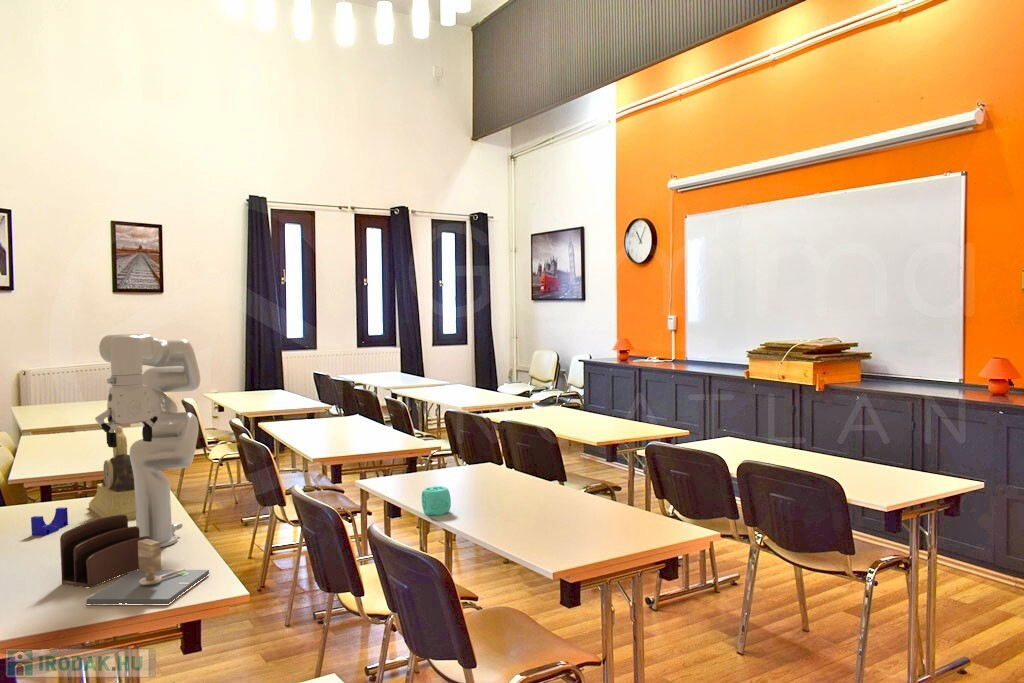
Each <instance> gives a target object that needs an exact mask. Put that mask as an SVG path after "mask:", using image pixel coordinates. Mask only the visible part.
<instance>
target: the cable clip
mask: <svg viewBox="0 0 1024 683" xmlns="http://www.w3.org/2000/svg"><path fill="white" fill-rule="evenodd" d="M54 513H55V514H54V516H53V519H52V520H51V522H50V523H49V524H46V522H45V519H44V516H43V515H34V516H31V517H30V523H31V525H30V526H31V529H30V530H31V536H33V537H34V536H35V537H45V536H48V535H50V534H53V533H56V532H58V531H60V529H62V528H64V527H67V526H69V517H68V516H69V515H68V507H56V508H55V512H54Z"/></svg>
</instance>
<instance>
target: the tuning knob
mask: <svg viewBox="0 0 1024 683" xmlns="http://www.w3.org/2000/svg"><path fill="white" fill-rule="evenodd" d="M161 550H162V549H161V548H160V542H157V541H154V540H150V539H144V540H140V541H138V560H139V569H138V570H143V571H146V577H145V578H142V579H141V580H139V584H140V585H153V584H156V583H159V582H161V581H162V578H165V577H169V576H172V575H175V574H178V573H181V572H184V571H185V570H186V568H181V569H176V570H177V571H174V572H171V573H167V574H164V575H161V576H155V572H158V571H161V570H162V552H161Z"/></svg>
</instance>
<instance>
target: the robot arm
mask: <svg viewBox="0 0 1024 683" xmlns="http://www.w3.org/2000/svg"><path fill="white" fill-rule="evenodd" d="M98 349H99V350H98V352H99V354H100V356H101V358H102V359H103V361H104V362H106V363H110V370H111V371H110V372H111V373H110V374H111V375H110V378H109V377H108V378H107V379H106V383H107V384H110V385H111V387H109V388H108V394H107V403H106V404H107V405H106V408H107V409H106V410H105V411H103V412H102V413H100V414H99V415H97V416H96V417H95V418H94V420H95V421H96V423H97V424H98V427H99V428H100V429H102V430H103V432H105V433H106V437H105V438H106V444H107V447H108V448H112V449H113V448H115V447H117V440H116V432H115V429H116V428H117V426H122V425H131V424H132V425H133V424H138V423H141V424H142V430H141V436H142V439H137V440H136V441H134V442H133V443H132V444H131V446H130V447H129V455H130V461H131V465H132V470H133V475H134V486H135V506H136V518H135V522H136V523H135V524H136V525H135V526H137V527H139V531H140V537H145V536H149V537H151V539H152V540H154V541H157V542H160V549H161V548H164V547H168V546H171V545H173V544H175V543H177V542H178V539H179V537H178V536H179V535H177V534H175V532H176V531H178V530H181V529H182V528H183V523H182V522H178V523H177V522H176V523H172V505H171V502H172V501H171V498H172V497H171V484H170V481H169V479H168V477H167V476H166V475H165V474H164V472H163V470H175V469H177V470H178V469H185V468H188V467H190V466H191V465H192V463H193V461H194V458H195V452H196V448H197V442H198V437H199V430H200V428H199V427H200V426H199V420H198V418H197V416H196V415H195V414H194V413H192V412H183V411H182V412H181V411H180V412H178V406H177V404H176V403H175V401H174V400H173V399H172V398H171V397H170V396H168V395H167V394H165V393H179V392H182V393H183V392H184V393H185V392H193V391H196V390H197V389H198V388H199V386H200V385H201V373H200V370H199V365H198V362H197V357H196V353H195V350H194V348H193V346H192V344H191V343H190V342H189V341H188V340H187V339H159V338H155V337H154V336H152V335H150V334H147V333H132V334H131V333H129V334H127V333H125V334H123V333H121V334H107V335H105V336H103V337H102V338H101V339H100V341H99V346H98ZM143 366H149V367H150V368H147V369H146V370H145V371H143ZM106 418H107V422H108V423H106V422H105V419H106Z"/></svg>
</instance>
